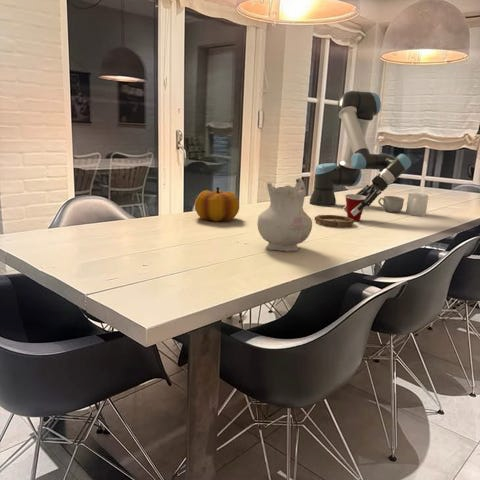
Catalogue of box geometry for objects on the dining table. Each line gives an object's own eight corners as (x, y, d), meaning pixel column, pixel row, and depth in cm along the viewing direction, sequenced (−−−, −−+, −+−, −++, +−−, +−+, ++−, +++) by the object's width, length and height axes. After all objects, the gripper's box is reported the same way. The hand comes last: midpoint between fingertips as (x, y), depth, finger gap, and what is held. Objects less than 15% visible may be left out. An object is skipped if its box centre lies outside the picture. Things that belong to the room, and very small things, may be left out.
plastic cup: (347, 222, 228) (349, 197, 225) (339, 217, 238) (341, 193, 235) (368, 222, 229) (371, 197, 226) (359, 218, 240) (362, 194, 237)
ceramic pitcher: (270, 240, 188) (269, 177, 183) (319, 243, 181) (319, 177, 175) (250, 253, 168) (248, 182, 163) (304, 257, 161) (304, 183, 156)
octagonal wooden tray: (309, 220, 227) (309, 213, 226) (340, 219, 233) (341, 212, 232) (326, 228, 212) (327, 220, 211) (359, 227, 217) (360, 219, 216)
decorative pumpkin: (248, 222, 217) (250, 189, 214) (205, 225, 206) (206, 190, 202) (226, 214, 234) (228, 183, 230) (185, 216, 222) (186, 184, 219)
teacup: (400, 210, 269) (401, 196, 267) (404, 214, 259) (406, 199, 257) (374, 209, 271) (376, 195, 269) (378, 212, 260) (380, 197, 258)
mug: (423, 217, 251) (426, 197, 249) (403, 215, 255) (406, 195, 253) (426, 213, 263) (429, 194, 260) (407, 211, 267) (409, 192, 265)
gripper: (398, 189, 222) (362, 222, 223) (377, 183, 243) (344, 213, 244) (388, 177, 219) (352, 210, 221) (368, 172, 241) (335, 202, 242)
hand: (348, 212), depth 232 cm, fingers closed on plastic cup, 9 cm apart
